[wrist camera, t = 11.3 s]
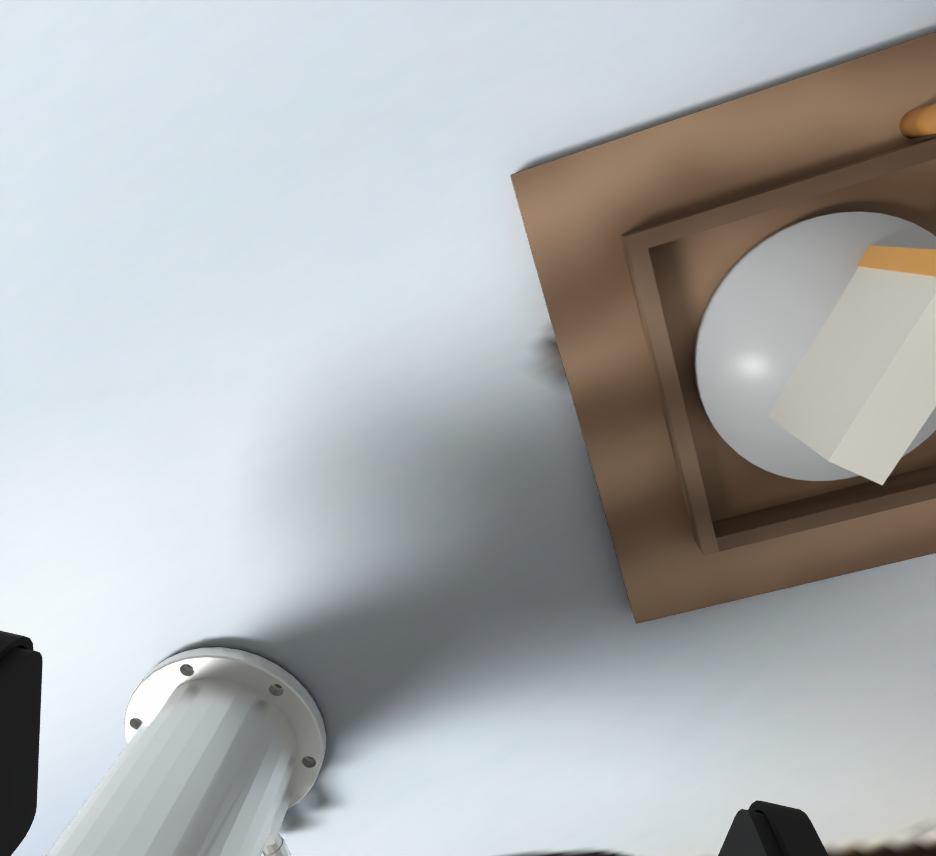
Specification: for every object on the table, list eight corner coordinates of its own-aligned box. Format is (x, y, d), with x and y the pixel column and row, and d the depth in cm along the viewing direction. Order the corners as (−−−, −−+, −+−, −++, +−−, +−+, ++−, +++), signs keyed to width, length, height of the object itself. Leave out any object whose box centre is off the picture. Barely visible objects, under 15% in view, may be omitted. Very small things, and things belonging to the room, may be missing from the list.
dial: (1026, 281, 32) (1172, 298, 25) (869, 513, 36) (958, 585, 29) (781, 164, 31) (861, 147, 24) (646, 414, 35) (681, 463, 28)
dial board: (1095, 501, 36) (1159, 531, 33) (632, 612, 40) (644, 650, 36) (1061, -9, 30) (1135, -40, 26) (510, 176, 33) (510, 170, 30)
